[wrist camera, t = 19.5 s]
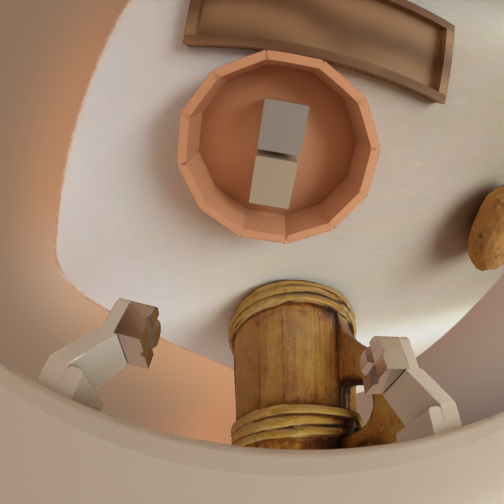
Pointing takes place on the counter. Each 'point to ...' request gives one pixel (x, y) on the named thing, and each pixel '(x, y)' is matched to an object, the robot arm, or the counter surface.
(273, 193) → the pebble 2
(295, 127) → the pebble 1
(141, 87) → the counter surface
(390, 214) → the counter surface
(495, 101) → the counter surface
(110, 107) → the counter surface
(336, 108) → the bowl
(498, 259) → the potato
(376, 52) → the parts tray
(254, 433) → the tankard
